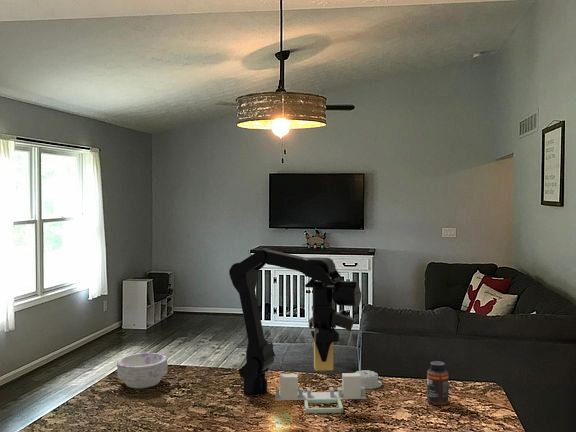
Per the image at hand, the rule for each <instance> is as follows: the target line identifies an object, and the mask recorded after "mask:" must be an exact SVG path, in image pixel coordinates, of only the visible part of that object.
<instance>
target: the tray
mask: <svg viewBox="0 0 576 432" xmlns="http://www.w3.org/2000/svg"><path fill="white" fill-rule="evenodd" d="M341 400H342V399H340V398H317V399H304V400H303V404H304V409H305V413H306V414H331V413H332V414H334V413H335V414H340V413H341V414H343V413H344V412H345V411H344V405H343V404H342V401H341ZM309 404H337V406H338V407H310V406H309Z"/></svg>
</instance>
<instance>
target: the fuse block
mask: <svg viewBox="0 0 576 432" xmlns="http://www.w3.org/2000/svg"><path fill="white" fill-rule="evenodd" d="M317 398H340V400H367V399H368V398H367V395H366V389H365V388H364V387H361V397H343V395H342V386H337V391H335V390H334V387H332V386H331V387H329V391H316V392H315V391H314V392H313V391H312V389H311V387H306V392H304V391H303V387H298V398H280V387H276V388H275V392H274V401H304V399H317Z"/></svg>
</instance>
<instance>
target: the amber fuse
mask: <svg viewBox="0 0 576 432" xmlns="http://www.w3.org/2000/svg"><path fill="white" fill-rule="evenodd" d="M313 369H314V371H316V372H317V371H334V342H332V343H331V344H330V348H329V352H328V356H327V360H326V362H322V360H321V357H320V354H319V352H318V349H317V346H316V344H315V341H314V340H313Z"/></svg>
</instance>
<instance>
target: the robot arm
mask: <svg viewBox="0 0 576 432" xmlns="http://www.w3.org/2000/svg"><path fill="white" fill-rule="evenodd" d="M266 265H270V266H274V267H279V268H283V269H288V270H291V271H295V272H299V273H301V274H302V275H304V276H306V277H309V278H310V279H309V280H308V282H307V283H306V284H305V285H304V287H305V288H309V289H310V288H311V289H312V305H311V310H312V316H311V318H309V320H308V328H309V330H310V329H313V330H311V331H310V334H311V336H312V339H313V342H314V341H315V344H316V346H317V349H318V352H319V354H320V357H321V360H322V362H326V360H327V356H328V352H329V348H330V344H331V343H332V342H333V343H336V342H337V343H338V342H340V334H339V331H337V330H336V328H337V327H339V328H342V329H345V330H346V331H349V332H351V331H352V329H353V326H354V323H355V319H354V318H353V317H352V316H351V315H349V314H348V313H349V312H348V311H347V310H345V309H341V310H340V311H339V312H338V311H336V308H334V303H335V304H336V305H337V306H343V307H344V306H346V307H357V308H358V307H359V306H360V304H361V301H362V290H361V287H360V285H359V281H358V280H344V279H343V277H342V276H341V274H340V273H339V271H338V270H337V267H336V264H335V262H334V260H333V259H332V258H330V257H321V256H319V257H315V256H314V257H313V256H311V257H305V256H300V255H295V254H291V253H286V252H282V251H277V250H273V249H270V248H267V247H266V248H265V247H264V248H260V249H257V250H256V251H255V252H254V253H252V254H250V256H247V257H246V258H245V259H243V260H242V261H239V262H236V263H233V264H232V265H231V266H230V268H229V270H228V275H229V278H230V281H231V284H232V286H233V287H234V289H235V290H236V292H237V293H238V295H239V300H240V304H241V309H242V310H241V312H242V315H243V322H244V326H245V332H246V338H247V348H246V350H245V360H246V362H245V363H244V365H243V366H242V367H240V369H238V374H239V377H240V378H241V379H242V378H243V395H248V396H255V397H256V396H260V395H265V394H268V378H267V377H266V373H267V372H269V369H270V367H272V365H273V364H274V362H275V357H276V353H275V351H274V343H273V342H269V343H268V341H267V340H266V338H265V334H264V328H263V325H262V324H263V323H262V320H261V315H260V309H259V303H258V298H257V293H256V287H257V284H258V272H259V271H260V270H261V269H263V268H264V266H266Z"/></svg>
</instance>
